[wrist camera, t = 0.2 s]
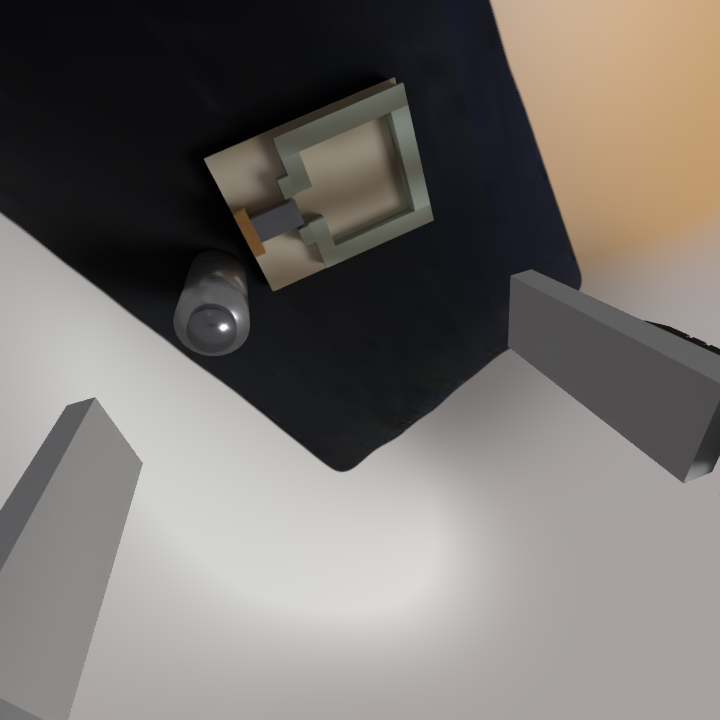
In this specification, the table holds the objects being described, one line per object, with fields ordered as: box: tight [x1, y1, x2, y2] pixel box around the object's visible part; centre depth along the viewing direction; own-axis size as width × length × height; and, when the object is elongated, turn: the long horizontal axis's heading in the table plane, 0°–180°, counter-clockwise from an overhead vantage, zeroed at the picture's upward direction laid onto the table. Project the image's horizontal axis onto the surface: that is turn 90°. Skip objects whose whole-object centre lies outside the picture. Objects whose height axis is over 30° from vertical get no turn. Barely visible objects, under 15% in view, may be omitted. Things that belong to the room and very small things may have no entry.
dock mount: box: [204, 78, 433, 291], centre depth 33 cm, size 12×16×4 cm
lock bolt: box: [233, 197, 305, 258], centre depth 32 cm, size 4×5×2 cm
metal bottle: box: [174, 249, 250, 356], centre depth 31 cm, size 5×5×12 cm
